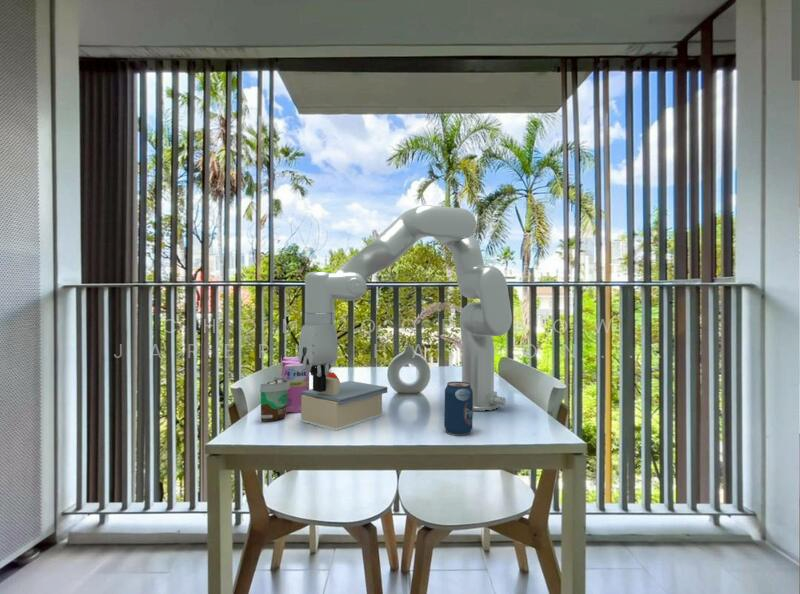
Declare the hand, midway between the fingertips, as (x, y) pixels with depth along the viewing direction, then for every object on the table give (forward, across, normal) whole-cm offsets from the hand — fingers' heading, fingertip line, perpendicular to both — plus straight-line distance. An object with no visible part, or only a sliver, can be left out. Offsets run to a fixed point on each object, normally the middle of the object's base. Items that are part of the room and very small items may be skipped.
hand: (319, 390), depth 117 cm
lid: (+3, -10, 0) cm, 10 cm away
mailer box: (+9, -9, 0) cm, 13 cm away
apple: (+9, -17, -14) cm, 24 cm away
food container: (+9, +2, -14) cm, 17 cm away
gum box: (+9, -12, -24) cm, 28 cm away
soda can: (+9, -18, +31) cm, 37 cm away
